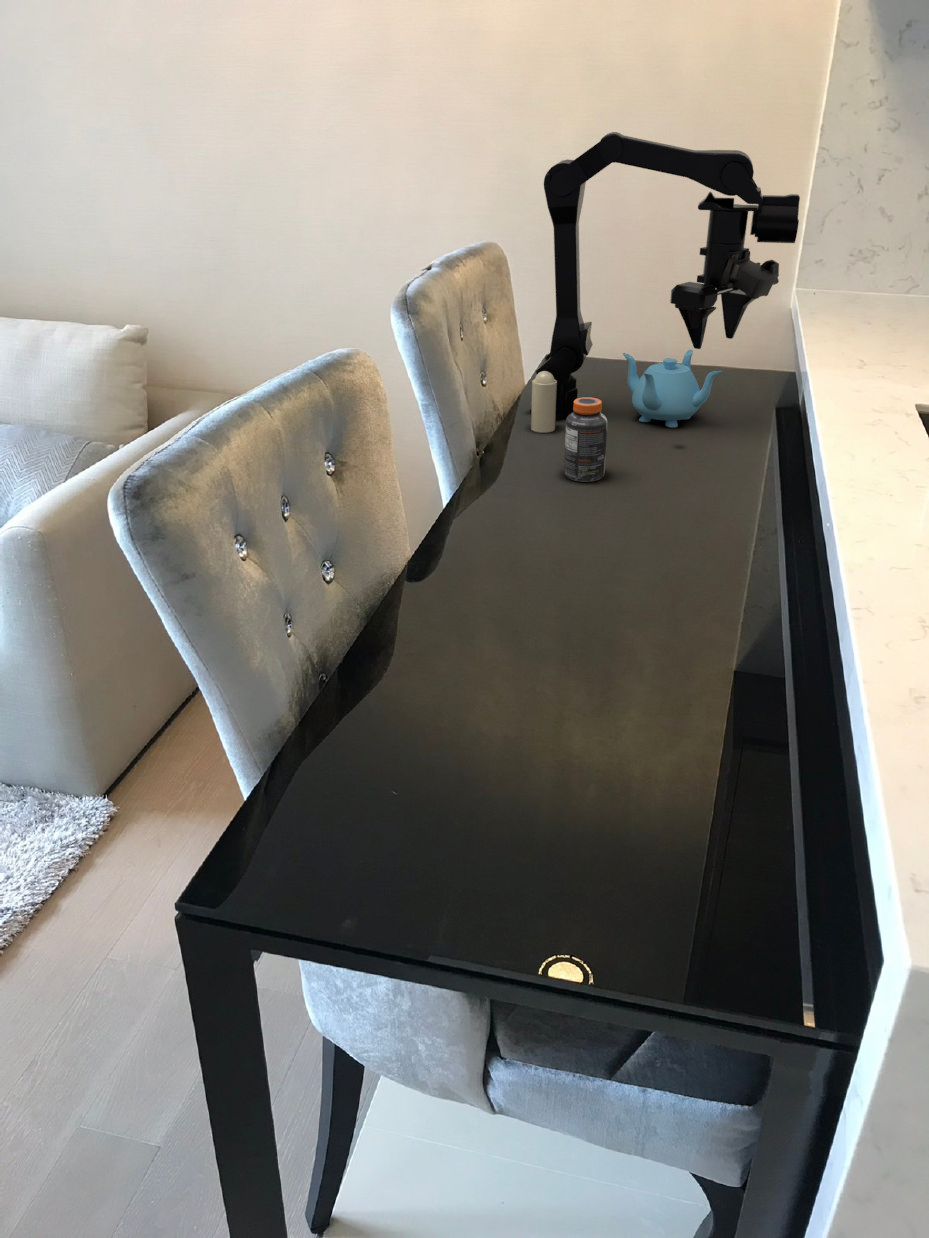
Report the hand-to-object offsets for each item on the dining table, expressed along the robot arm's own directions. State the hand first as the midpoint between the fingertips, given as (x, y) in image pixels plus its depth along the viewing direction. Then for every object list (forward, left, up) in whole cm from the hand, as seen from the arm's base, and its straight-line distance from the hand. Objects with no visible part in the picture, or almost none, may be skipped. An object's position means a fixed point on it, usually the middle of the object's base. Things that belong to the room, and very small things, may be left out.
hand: (713, 343), depth 161 cm
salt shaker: (-18, -21, -13) cm, 30 cm away
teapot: (-6, -3, -13) cm, 15 cm away
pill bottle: (0, -33, -13) cm, 36 cm away
